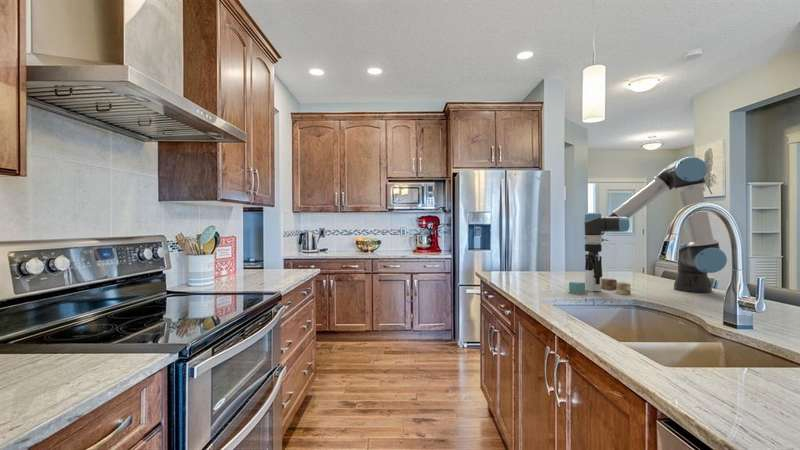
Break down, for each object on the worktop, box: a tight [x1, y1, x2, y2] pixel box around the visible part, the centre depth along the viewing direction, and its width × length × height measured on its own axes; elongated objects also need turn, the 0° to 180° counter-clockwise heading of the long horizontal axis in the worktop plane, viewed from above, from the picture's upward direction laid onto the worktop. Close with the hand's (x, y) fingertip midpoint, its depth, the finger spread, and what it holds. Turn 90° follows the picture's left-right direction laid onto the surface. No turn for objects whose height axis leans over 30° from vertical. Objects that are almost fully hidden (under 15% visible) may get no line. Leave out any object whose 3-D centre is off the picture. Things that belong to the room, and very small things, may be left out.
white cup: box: [584, 269, 603, 292], centre depth 190 cm, size 8×8×10 cm
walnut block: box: [601, 278, 618, 291], centre depth 195 cm, size 5×5×5 cm
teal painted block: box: [568, 281, 586, 294], centre depth 185 cm, size 5×5×5 cm
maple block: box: [616, 281, 632, 295], centre depth 182 cm, size 5×5×5 cm
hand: (593, 289), depth 190 cm, fingers closed on white cup, 7 cm apart
